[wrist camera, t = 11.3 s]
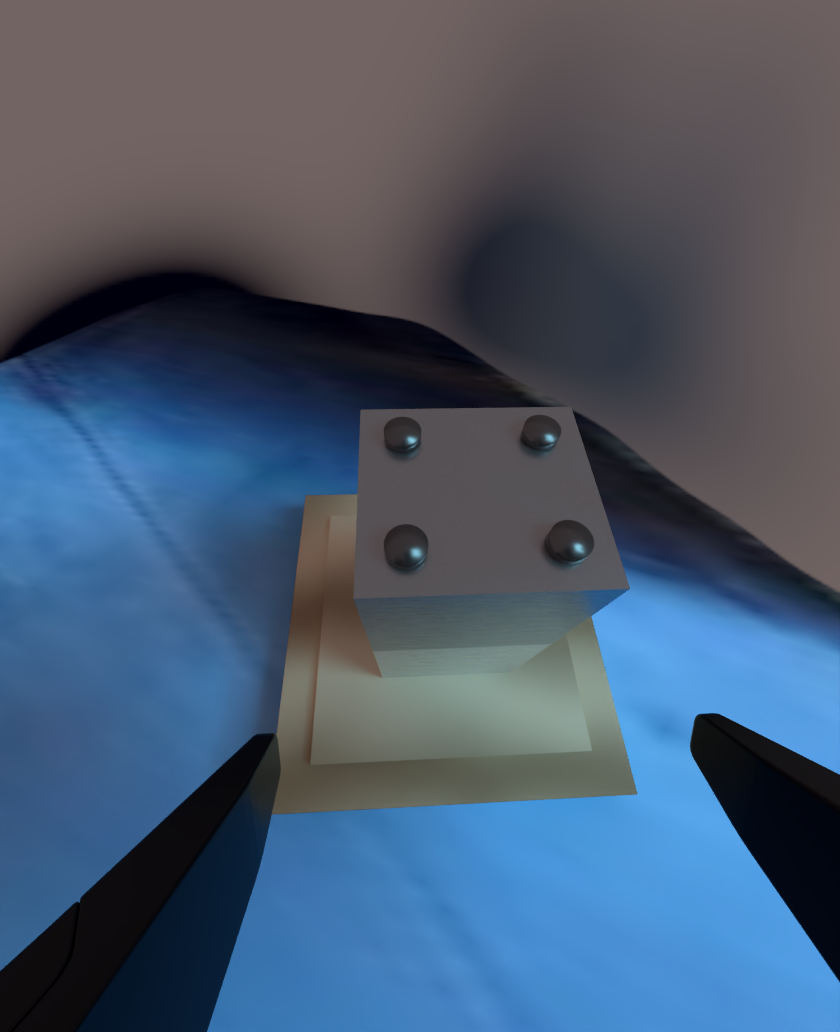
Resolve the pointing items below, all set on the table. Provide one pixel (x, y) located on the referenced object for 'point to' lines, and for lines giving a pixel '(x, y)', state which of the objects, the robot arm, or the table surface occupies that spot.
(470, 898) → the table surface
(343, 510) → the stand
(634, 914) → the table surface
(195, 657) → the table surface
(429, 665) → the plate
